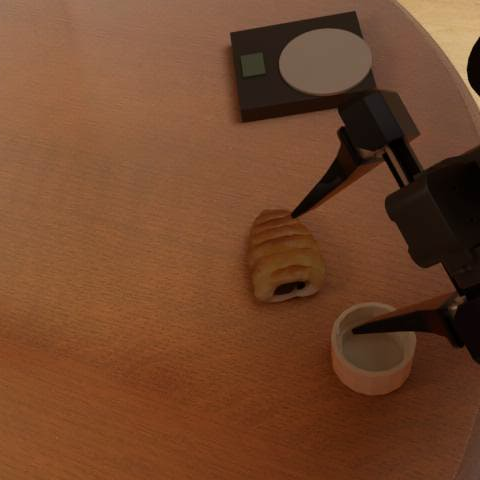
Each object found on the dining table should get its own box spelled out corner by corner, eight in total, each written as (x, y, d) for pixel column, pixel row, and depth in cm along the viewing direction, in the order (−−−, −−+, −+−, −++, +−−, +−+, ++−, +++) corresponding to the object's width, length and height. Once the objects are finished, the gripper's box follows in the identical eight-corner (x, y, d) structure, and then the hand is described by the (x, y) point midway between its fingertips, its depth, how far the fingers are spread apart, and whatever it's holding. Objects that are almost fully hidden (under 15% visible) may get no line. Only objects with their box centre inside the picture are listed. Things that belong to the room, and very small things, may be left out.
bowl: (401, 322, 64) (406, 297, 60) (418, 393, 60) (424, 371, 57) (326, 331, 65) (325, 307, 61) (338, 401, 61) (339, 380, 58)
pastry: (238, 225, 72) (234, 203, 69) (307, 211, 72) (306, 187, 69) (257, 310, 67) (254, 289, 64) (332, 295, 67) (332, 273, 64)
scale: (357, 23, 84) (358, 6, 82) (379, 101, 78) (380, 85, 76) (231, 45, 86) (229, 29, 84) (242, 122, 80) (239, 107, 78)
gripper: (434, 21, 40) (211, 165, 48) (616, 338, 37) (348, 432, 46) (471, 39, 49) (279, 157, 58) (619, 294, 47) (396, 379, 55)
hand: (323, 273), depth 54 cm, fingers open, 9 cm apart
